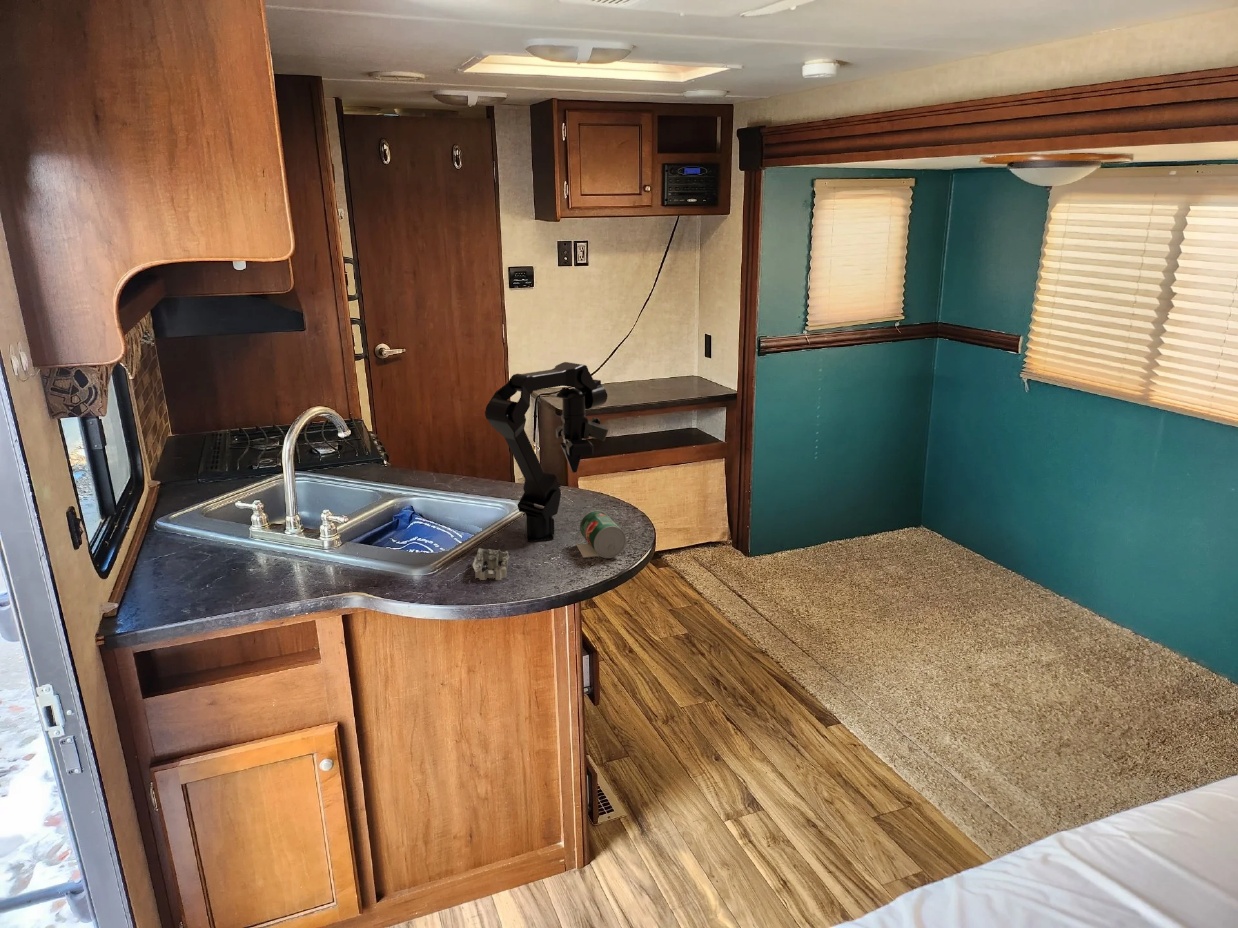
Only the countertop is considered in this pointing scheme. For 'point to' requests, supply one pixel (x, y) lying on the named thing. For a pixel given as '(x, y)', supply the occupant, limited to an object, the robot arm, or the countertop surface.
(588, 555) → the mat
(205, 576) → the countertop surface
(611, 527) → the canned tomato
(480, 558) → the egg carton
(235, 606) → the countertop surface
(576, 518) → the countertop surface
